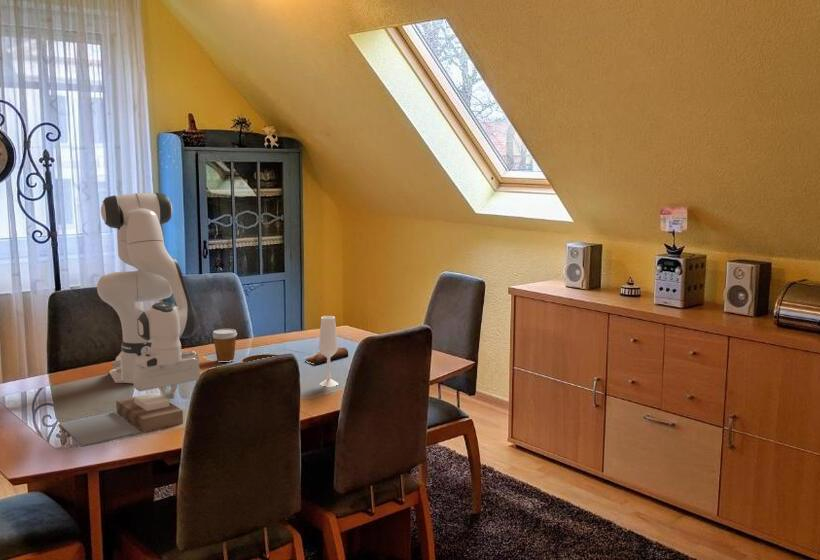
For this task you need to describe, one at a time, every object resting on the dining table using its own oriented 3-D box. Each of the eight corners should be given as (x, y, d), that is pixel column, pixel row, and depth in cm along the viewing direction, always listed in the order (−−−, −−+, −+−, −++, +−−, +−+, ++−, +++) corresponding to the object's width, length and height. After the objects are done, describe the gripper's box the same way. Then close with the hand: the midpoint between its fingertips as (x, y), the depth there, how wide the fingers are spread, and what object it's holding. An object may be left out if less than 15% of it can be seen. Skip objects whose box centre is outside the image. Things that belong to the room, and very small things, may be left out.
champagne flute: (325, 388, 261) (324, 320, 257) (315, 383, 266) (314, 316, 263) (342, 384, 265) (341, 317, 261) (332, 380, 270) (331, 314, 266)
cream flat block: (134, 402, 232) (134, 396, 232) (156, 398, 237) (156, 392, 236) (146, 411, 225) (146, 404, 224) (169, 406, 229) (169, 399, 229)
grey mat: (58, 424, 224) (58, 423, 224) (113, 413, 235) (113, 411, 234) (82, 446, 208) (82, 444, 208) (140, 433, 218) (140, 431, 218)
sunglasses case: (333, 352, 308) (339, 340, 305) (344, 363, 305) (350, 351, 302) (300, 361, 294) (306, 348, 291) (311, 373, 291) (317, 360, 288)
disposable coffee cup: (231, 365, 290) (230, 334, 288) (208, 363, 292) (207, 333, 290) (242, 358, 299) (241, 329, 297) (220, 357, 301) (219, 327, 299)
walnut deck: (116, 412, 235) (116, 400, 235) (154, 404, 243) (153, 392, 242) (143, 432, 219) (142, 419, 218) (183, 423, 226) (182, 410, 226)
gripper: (194, 348, 241) (195, 390, 243) (130, 359, 228) (132, 403, 230) (202, 352, 236) (204, 394, 238) (137, 363, 223) (140, 408, 225)
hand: (168, 399), depth 234 cm, fingers closed
